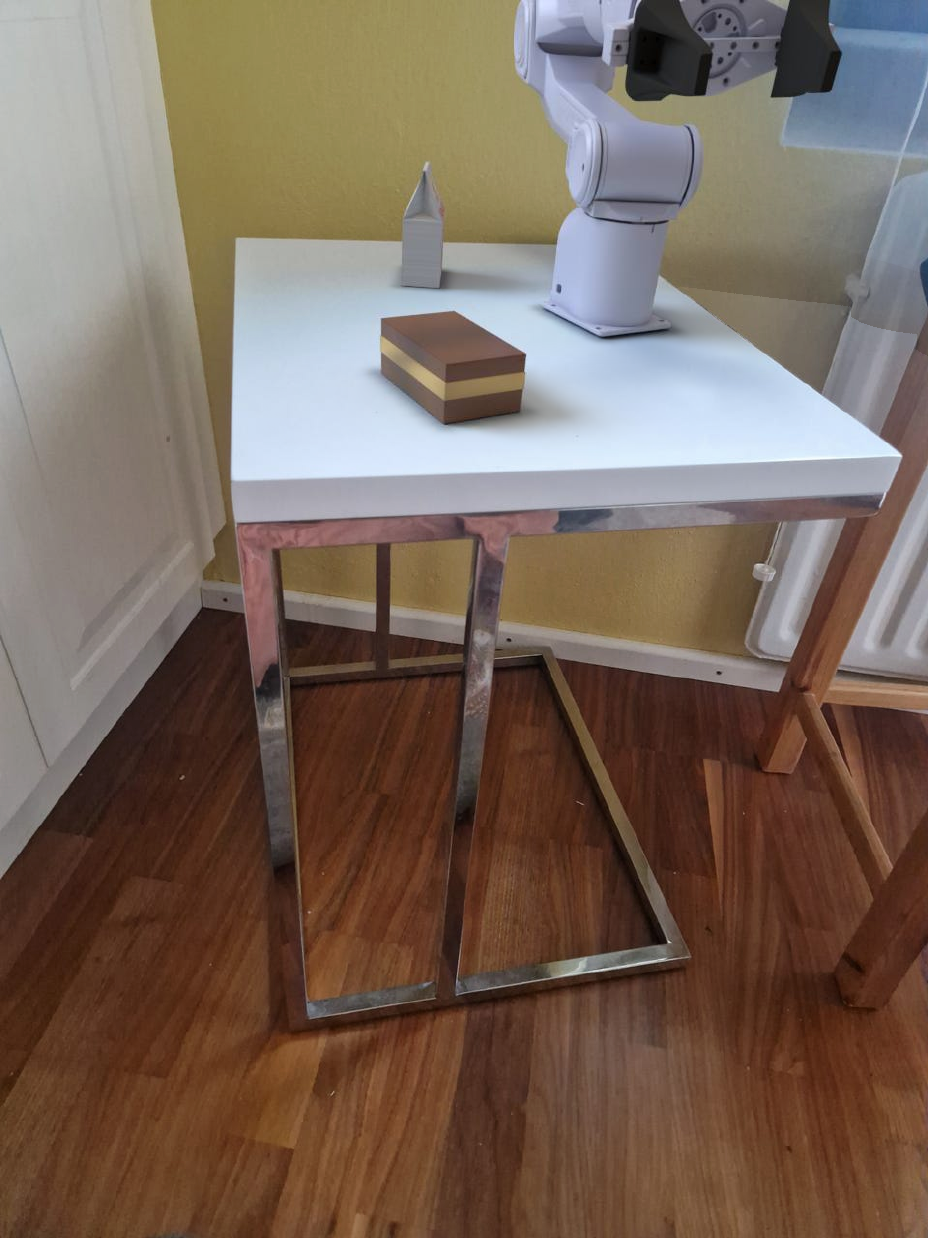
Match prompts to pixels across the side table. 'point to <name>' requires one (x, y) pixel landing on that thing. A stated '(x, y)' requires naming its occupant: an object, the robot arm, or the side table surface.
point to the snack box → (452, 366)
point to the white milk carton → (423, 235)
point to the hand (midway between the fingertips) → (768, 73)
